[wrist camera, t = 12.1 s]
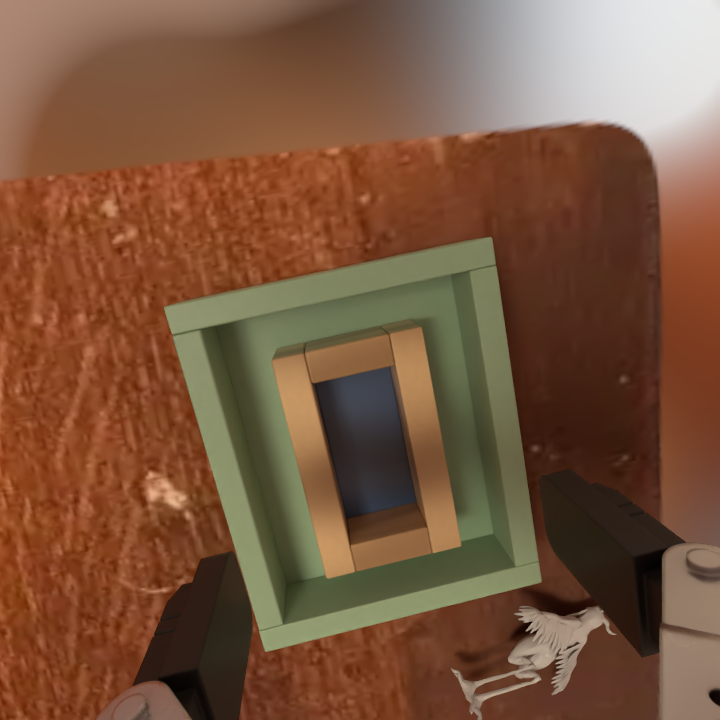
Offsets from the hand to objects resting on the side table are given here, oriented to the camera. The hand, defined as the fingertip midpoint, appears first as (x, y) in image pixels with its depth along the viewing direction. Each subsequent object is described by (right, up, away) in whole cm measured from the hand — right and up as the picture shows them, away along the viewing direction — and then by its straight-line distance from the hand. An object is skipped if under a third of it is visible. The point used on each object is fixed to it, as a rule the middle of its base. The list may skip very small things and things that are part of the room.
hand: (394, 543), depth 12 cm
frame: (-1, +1, +8) cm, 8 cm away
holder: (-1, +2, +9) cm, 9 cm away
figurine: (+7, -11, +12) cm, 18 cm away
